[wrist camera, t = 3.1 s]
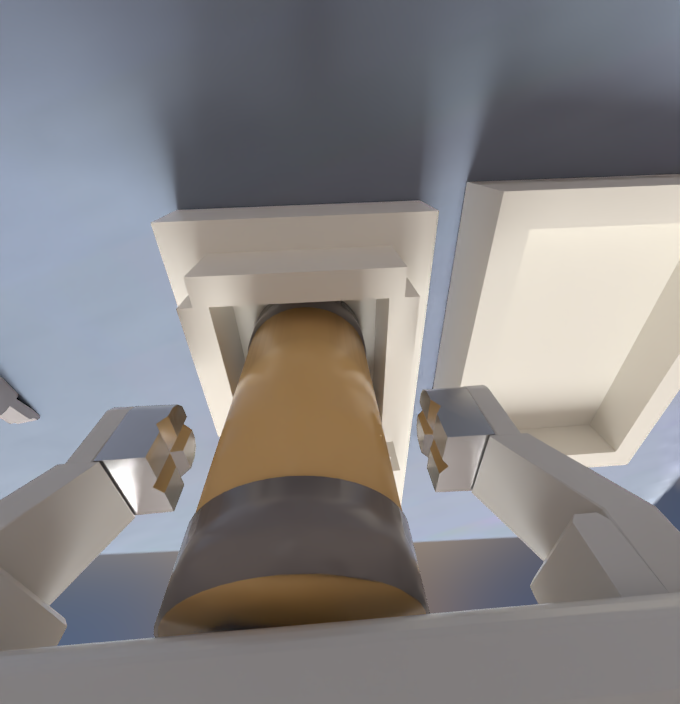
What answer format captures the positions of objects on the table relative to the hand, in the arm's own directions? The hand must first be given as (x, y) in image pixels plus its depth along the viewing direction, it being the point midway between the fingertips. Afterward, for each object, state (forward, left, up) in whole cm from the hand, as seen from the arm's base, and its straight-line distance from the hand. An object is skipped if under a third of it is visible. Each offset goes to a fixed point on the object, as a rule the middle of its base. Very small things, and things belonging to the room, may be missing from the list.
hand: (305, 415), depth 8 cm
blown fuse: (0, 0, -4) cm, 4 cm away
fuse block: (+3, 0, -6) cm, 7 cm away
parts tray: (+1, +10, -6) cm, 12 cm away
